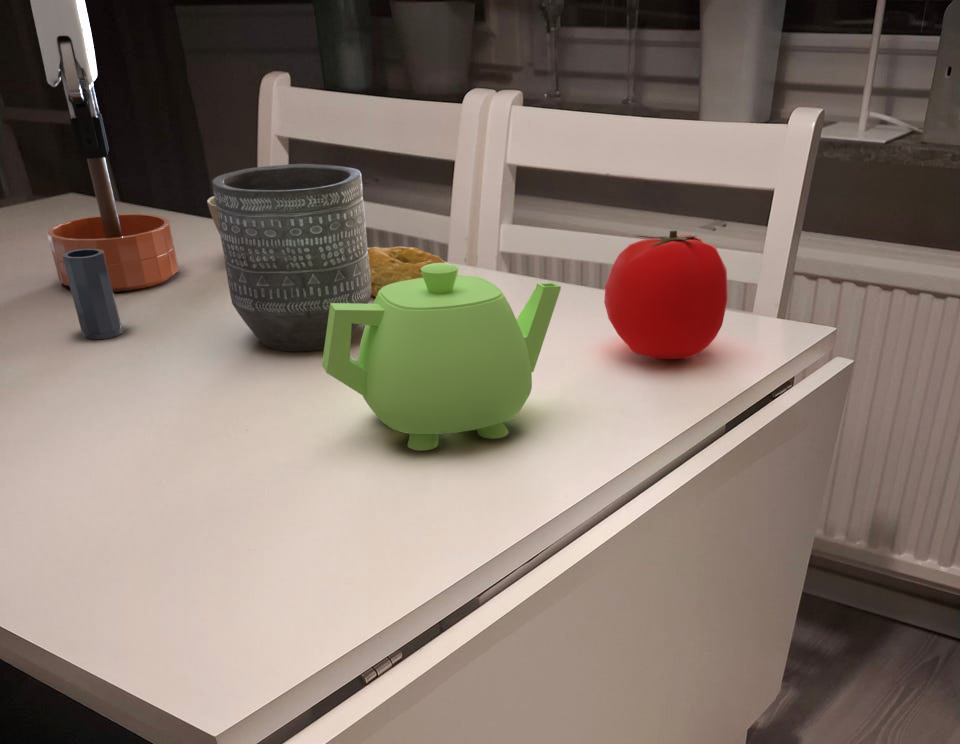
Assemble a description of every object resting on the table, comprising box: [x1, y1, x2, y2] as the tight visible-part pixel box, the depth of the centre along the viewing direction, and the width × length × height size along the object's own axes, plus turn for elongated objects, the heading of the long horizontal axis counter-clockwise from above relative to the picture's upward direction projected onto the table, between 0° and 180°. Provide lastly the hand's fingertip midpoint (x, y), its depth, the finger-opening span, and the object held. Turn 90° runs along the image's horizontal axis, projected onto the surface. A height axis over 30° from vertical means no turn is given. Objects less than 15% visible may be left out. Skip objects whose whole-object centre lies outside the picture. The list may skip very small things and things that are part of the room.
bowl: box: [46, 213, 179, 293], centre depth 123 cm, size 14×14×6 cm
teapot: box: [321, 262, 562, 451], centre depth 81 cm, size 20×13×13 cm
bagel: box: [367, 245, 446, 298], centre depth 116 cm, size 10×11×5 cm
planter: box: [211, 163, 372, 353], centre depth 100 cm, size 14×14×15 cm
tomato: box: [603, 230, 729, 360], centre depth 95 cm, size 12×12×11 cm
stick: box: [86, 158, 123, 238], centre depth 119 cm, size 2×2×18 cm
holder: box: [62, 249, 123, 341], centre depth 105 cm, size 4×4×8 cm
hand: (94, 154), depth 117 cm, fingers closed on stick, 2 cm apart
